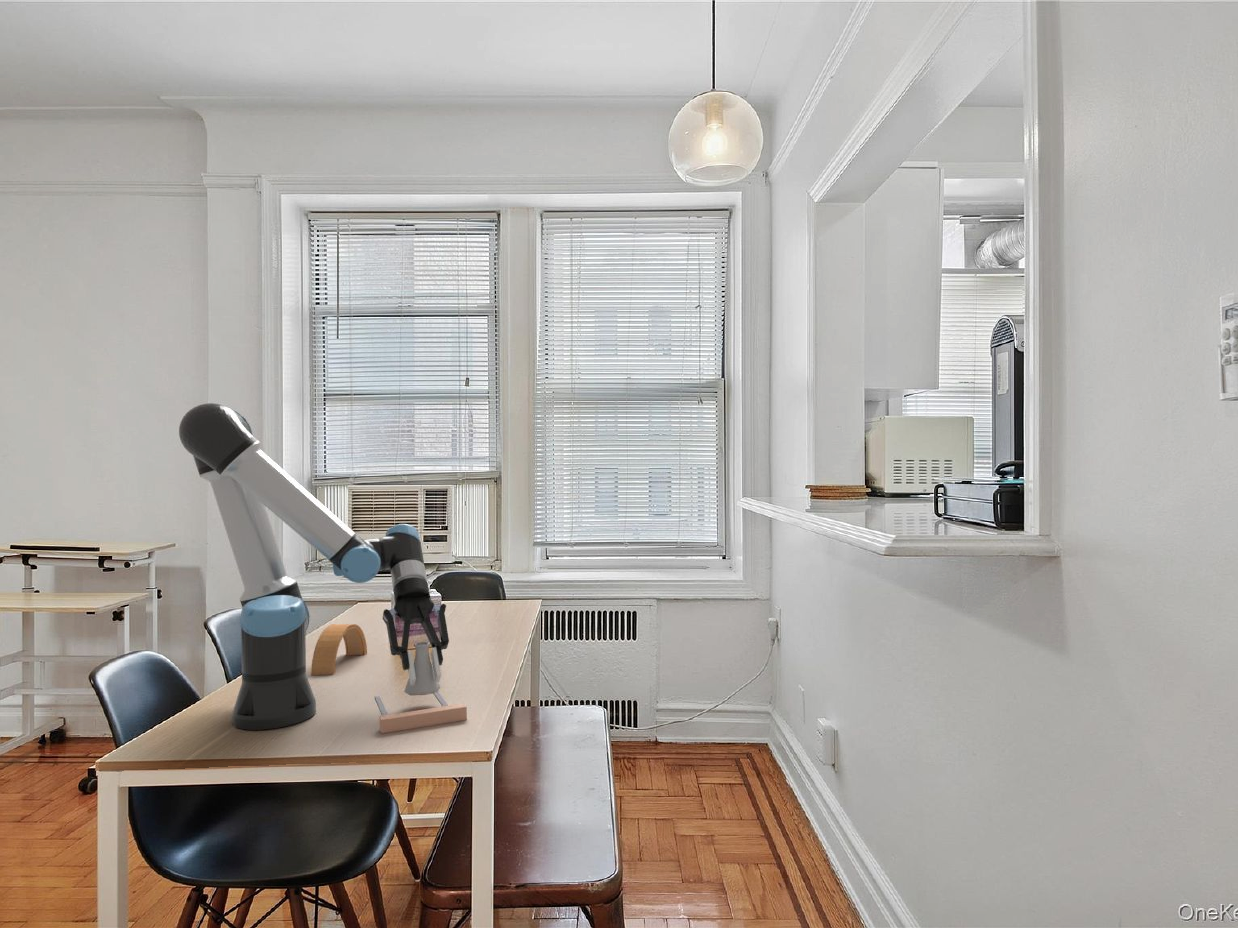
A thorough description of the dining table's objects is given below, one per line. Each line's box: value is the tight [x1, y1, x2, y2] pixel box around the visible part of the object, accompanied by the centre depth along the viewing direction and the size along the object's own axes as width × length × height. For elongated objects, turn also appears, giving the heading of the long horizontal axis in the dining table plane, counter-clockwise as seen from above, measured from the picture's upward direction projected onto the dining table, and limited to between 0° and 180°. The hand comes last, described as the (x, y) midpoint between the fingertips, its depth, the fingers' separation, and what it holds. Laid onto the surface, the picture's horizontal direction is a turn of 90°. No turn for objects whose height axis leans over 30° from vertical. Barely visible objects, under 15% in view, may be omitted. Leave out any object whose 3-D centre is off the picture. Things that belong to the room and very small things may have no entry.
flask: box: [404, 640, 441, 696], centre depth 151 cm, size 7×7×10 cm
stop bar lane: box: [374, 691, 468, 734], centre depth 150 cm, size 16×24×2 cm
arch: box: [310, 623, 368, 675], centre depth 188 cm, size 6×20×10 cm, turn 176°
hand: (425, 680), depth 148 cm, fingers closed on flask, 4 cm apart
